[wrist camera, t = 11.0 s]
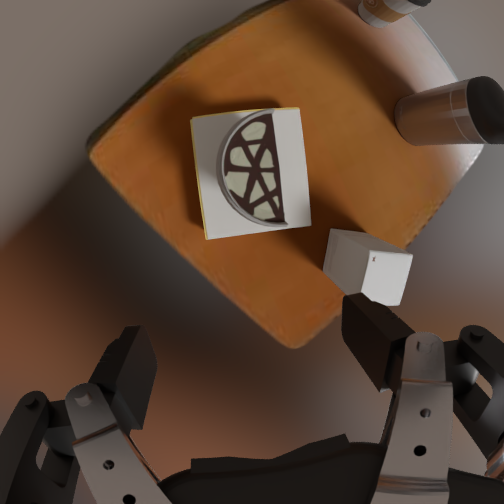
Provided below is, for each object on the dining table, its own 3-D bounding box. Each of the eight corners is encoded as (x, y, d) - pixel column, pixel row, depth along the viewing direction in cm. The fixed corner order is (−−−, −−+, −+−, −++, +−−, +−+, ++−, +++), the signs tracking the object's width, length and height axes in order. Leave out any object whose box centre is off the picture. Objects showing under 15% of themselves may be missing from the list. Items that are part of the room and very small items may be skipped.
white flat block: (291, 113, 36) (298, 107, 32) (303, 220, 40) (311, 225, 37) (192, 122, 35) (189, 117, 31) (207, 233, 39) (205, 239, 36)
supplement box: (321, 272, 43) (354, 307, 31) (329, 227, 41) (369, 248, 29) (359, 274, 44) (399, 307, 32) (369, 232, 42) (414, 254, 30)
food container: (211, 128, 32) (207, 110, 22) (259, 122, 32) (274, 103, 23) (224, 222, 35) (225, 239, 26) (271, 215, 36) (289, 230, 26)
